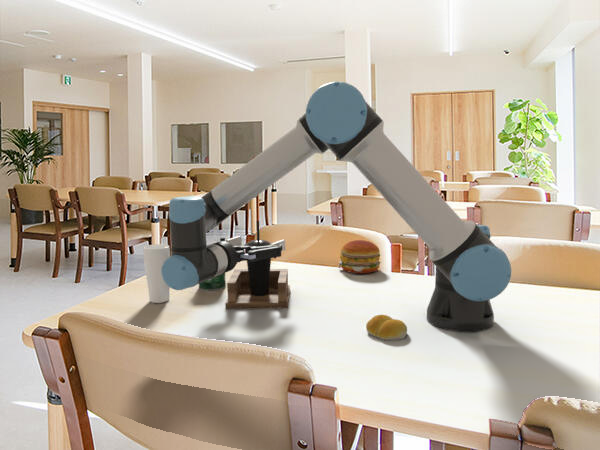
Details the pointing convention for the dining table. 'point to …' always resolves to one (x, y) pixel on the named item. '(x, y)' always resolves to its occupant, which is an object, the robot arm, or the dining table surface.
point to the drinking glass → (156, 272)
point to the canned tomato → (213, 283)
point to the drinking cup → (259, 269)
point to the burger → (360, 257)
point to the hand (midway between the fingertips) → (261, 242)
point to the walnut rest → (244, 300)
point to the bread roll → (386, 328)
